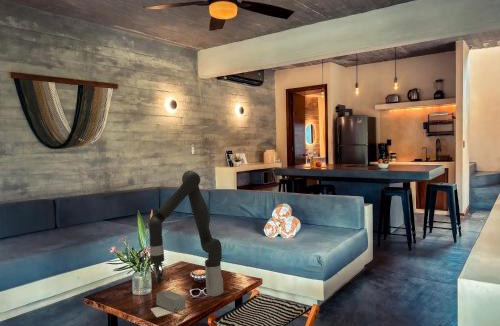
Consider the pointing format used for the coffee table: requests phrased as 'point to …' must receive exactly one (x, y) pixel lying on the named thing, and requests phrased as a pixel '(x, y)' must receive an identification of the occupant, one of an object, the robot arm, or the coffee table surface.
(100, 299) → the coffee table surface
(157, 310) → the mat
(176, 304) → the skincare box
